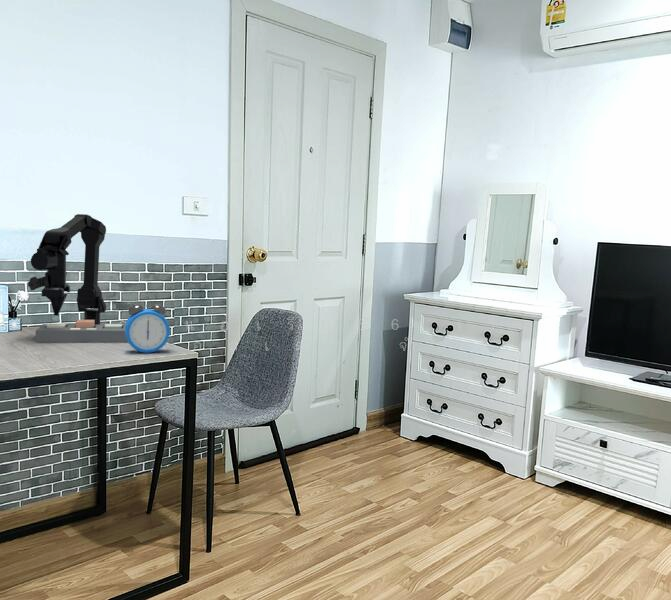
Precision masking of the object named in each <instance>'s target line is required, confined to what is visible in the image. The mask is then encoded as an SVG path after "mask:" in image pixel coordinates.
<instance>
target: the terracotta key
mask: <svg viewBox="0 0 671 600" xmlns="http://www.w3.org/2000/svg"><path fill="white" fill-rule="evenodd" d="M75 324H76V328H95V320H84V319H77V320H76V321H75Z"/></svg>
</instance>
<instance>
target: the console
mask: <svg viewBox="0 0 671 600" xmlns="http://www.w3.org/2000/svg"><path fill="white" fill-rule="evenodd" d="M48 324H49V323H42V324H41V325H40V326H39V327H38V328H36V330H35V343H96V344H97V343H98V344H99V343H103V344H105V343H111V344H112V343H113V344H114V343H123V344H124V343H128V341H127V338H126V336H125V324H122V328H104V326H105V324H100V325H95V328H76V323H75V324H73V323H72V324H71V323H70V324H67V323H65V324H66V328H46V326H47V325H48Z"/></svg>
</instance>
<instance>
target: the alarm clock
mask: <svg viewBox="0 0 671 600" xmlns="http://www.w3.org/2000/svg"><path fill="white" fill-rule="evenodd" d="M149 307H150V305H146V308H145V306H144V305H142V304H141V303H135V304H132V305H131V306H130V307H129V308H128V312H127V313H128V315H129V316H128V317H127V319H126V322H125V324H124V325H125V336H126V338H127V341H128V342H127V343H128V344H129V345H130V347H132V348H133V349H134V350H136V351H135V354H137V353H138V352H140V353H145V354H146V353H148V354H150V353H155V352H158V353H160V351H159V350H161V349H162V348H163V347H164V346H165V345H166V344H167V343H168V340H169V338H170V334H171V330H170V329H171V327H170V324H169V322H168V320H167V318H166V317H164V316H166V314H167V309H166V307H165V306H163V304H159V303H155V304H153V305H151V307H150V308H149Z"/></svg>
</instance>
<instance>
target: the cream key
mask: <svg viewBox="0 0 671 600" xmlns="http://www.w3.org/2000/svg"><path fill="white" fill-rule="evenodd" d="M47 324H48V325H47V326H46V328H66V324H67V323H47Z"/></svg>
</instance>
